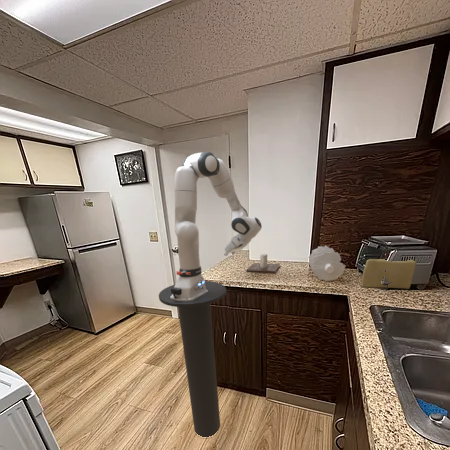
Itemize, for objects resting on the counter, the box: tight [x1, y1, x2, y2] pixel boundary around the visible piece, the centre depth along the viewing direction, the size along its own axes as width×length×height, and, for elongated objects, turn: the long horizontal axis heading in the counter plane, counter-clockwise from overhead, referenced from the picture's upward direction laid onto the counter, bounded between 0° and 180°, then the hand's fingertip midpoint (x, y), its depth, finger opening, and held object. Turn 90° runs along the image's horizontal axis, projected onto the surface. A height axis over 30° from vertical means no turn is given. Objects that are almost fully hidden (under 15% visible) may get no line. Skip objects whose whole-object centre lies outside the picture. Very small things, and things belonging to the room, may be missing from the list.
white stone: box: [259, 253, 268, 268], centre depth 177 cm, size 5×5×9 cm
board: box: [245, 262, 281, 274], centre depth 179 cm, size 20×20×2 cm
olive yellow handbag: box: [360, 258, 417, 290], centre depth 130 cm, size 22×10×15 cm, turn 81°
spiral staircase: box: [308, 245, 346, 282], centre depth 151 cm, size 18×18×25 cm
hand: (228, 254), depth 165 cm, fingers open, 8 cm apart
